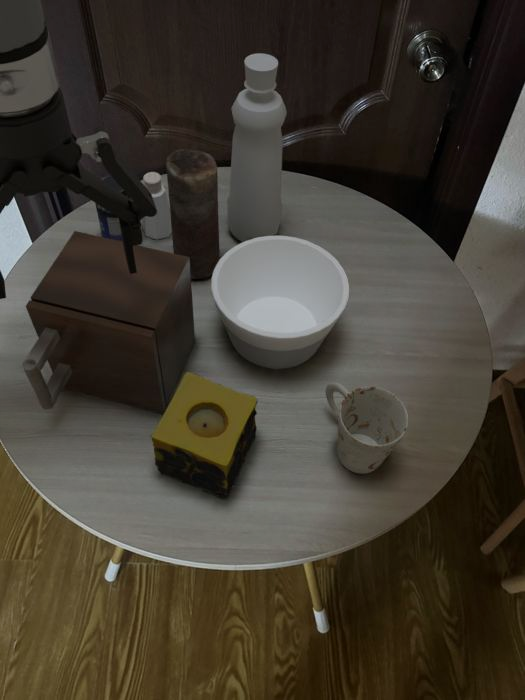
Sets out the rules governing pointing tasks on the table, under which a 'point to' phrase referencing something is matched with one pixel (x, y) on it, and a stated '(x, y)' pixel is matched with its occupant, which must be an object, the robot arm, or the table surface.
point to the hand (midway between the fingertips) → (67, 277)
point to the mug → (367, 425)
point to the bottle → (256, 152)
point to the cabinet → (127, 294)
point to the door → (93, 359)
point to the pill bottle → (110, 214)
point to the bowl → (279, 298)
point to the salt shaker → (161, 221)
